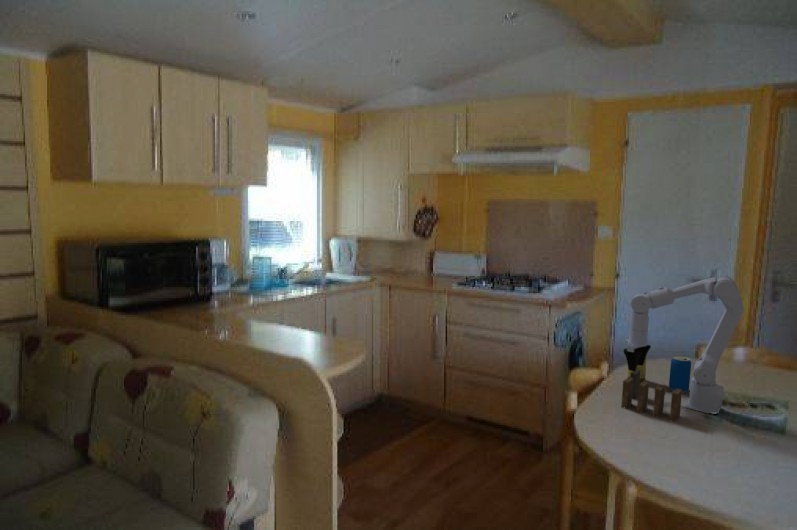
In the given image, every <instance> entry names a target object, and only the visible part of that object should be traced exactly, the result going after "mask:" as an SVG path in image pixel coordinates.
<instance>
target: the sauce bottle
mask: <svg viewBox="0 0 797 530" xmlns="http://www.w3.org/2000/svg"><path fill="white" fill-rule="evenodd" d="M636 369H637V370H640V382H639V384H641V383H642V382H643V381H646V373H647V371H646V369H647V357H646V358H645V361H644V364H643V366H641V365H637V368H636ZM631 372H633V371H631V370H629V369H628V368H627V378H628V377H630V376H631Z"/></svg>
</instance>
